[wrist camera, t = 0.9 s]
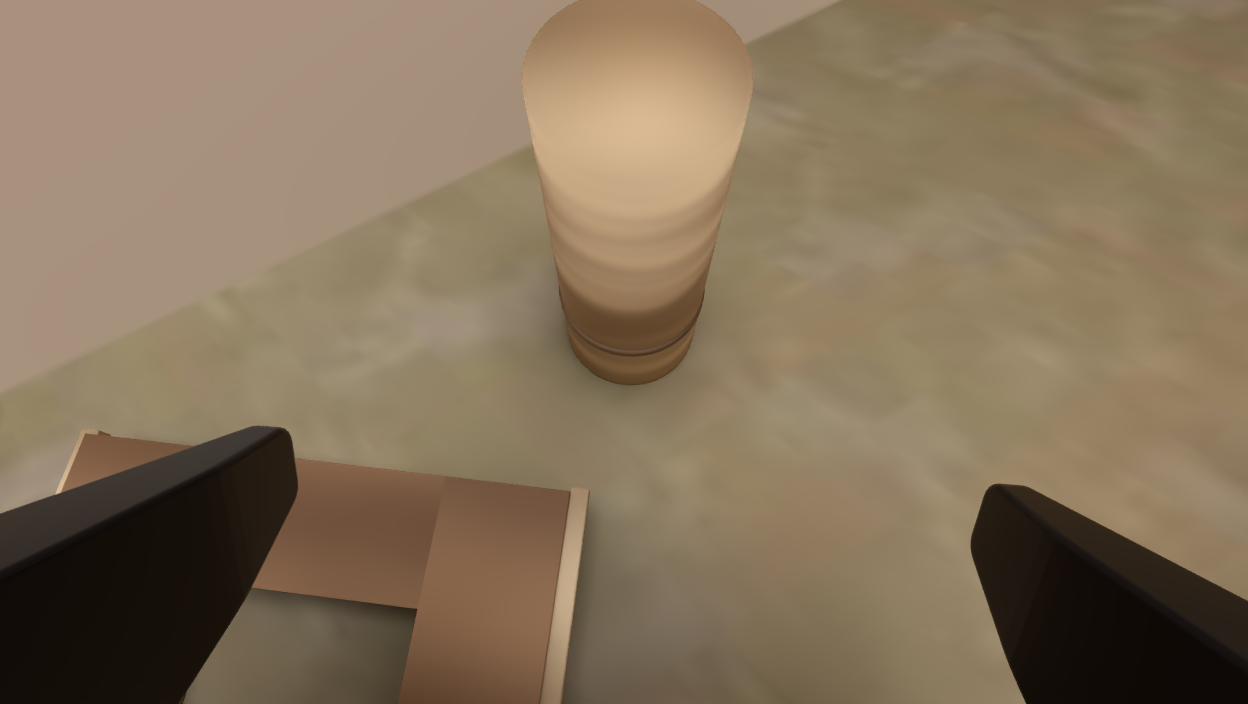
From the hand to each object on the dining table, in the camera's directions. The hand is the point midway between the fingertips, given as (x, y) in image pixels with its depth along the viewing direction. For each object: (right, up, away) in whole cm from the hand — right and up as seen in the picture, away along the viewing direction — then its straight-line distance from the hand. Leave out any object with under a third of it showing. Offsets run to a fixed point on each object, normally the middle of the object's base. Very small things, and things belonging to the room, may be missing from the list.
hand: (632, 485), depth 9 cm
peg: (0, +3, +15) cm, 16 cm away
